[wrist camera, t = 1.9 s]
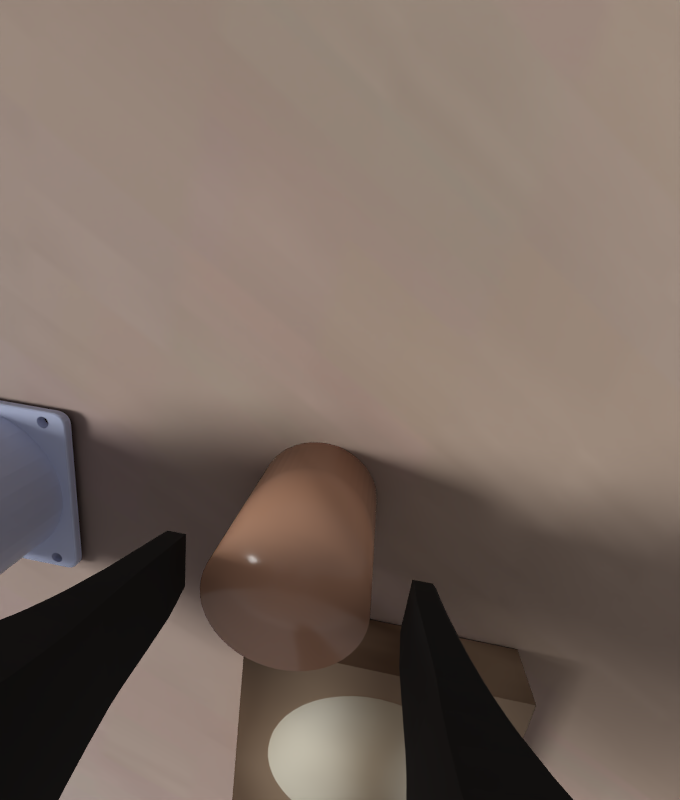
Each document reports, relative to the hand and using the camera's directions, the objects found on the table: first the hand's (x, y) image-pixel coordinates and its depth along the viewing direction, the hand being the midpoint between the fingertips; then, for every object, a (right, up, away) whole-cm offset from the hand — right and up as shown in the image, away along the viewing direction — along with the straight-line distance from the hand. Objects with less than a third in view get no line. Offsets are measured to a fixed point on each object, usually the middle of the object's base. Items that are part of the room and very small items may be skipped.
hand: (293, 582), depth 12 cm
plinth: (+3, -10, +8) cm, 14 cm away
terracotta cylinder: (+1, +2, +5) cm, 5 cm away
